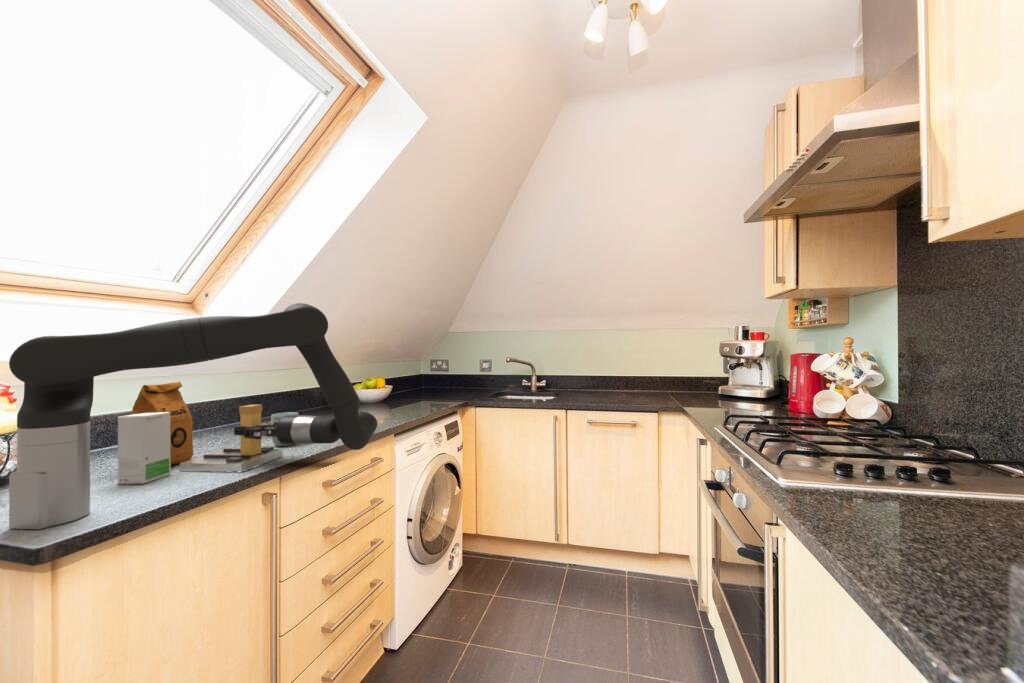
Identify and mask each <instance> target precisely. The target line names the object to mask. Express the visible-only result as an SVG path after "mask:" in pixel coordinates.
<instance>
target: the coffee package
mask: <svg viewBox="0 0 1024 683" xmlns="http://www.w3.org/2000/svg"><path fill="white" fill-rule="evenodd" d="M182 387H183V385H182V382H181V381H177V382H174V381H173V382H169V383H160V384H143V385H142V387H141V388H140V391H139V393H138V395H137V397H136V400H134V401H135V402H134V403H133V406H132V410H131V415H133V414H141V413H157V412H171V413H170V461H171V462H170V465H171V466H175V465H177V464H180V463H182V462H185V461H189V460H192V459H193V456H194V445H193V443H194V441H193V430H194V428H193V425H194V421H193V417H192V416H193V415H192V414H191V411H190V409H189V407H188V405H187V403H186V402H185V400H184V398H183V395H182V393H181V391H179V390H180V388H182Z"/></svg>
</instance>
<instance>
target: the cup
mask: <svg viewBox="0 0 1024 683" xmlns="http://www.w3.org/2000/svg"><path fill="white" fill-rule="evenodd" d="M287 415H299V412H295V411H293V412H292V411H287V412H277V413H273V414H271V415H270V421H272V422H275V421H280V419H281V418H282V417H284V416H287ZM299 416H300V415H299ZM271 440H272V443H273V444H274V445H275V446H276V447H280V446H284V447H289V445H290V446H293V445H294V444H282V443H280V442H279V440H278V439H277V437H276V436H275V438H271Z"/></svg>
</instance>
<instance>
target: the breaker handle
mask: <svg viewBox="0 0 1024 683" xmlns="http://www.w3.org/2000/svg"><path fill="white" fill-rule="evenodd" d="M238 411H239V412H238V413H239V415H240V426H241V427H248V426H256V425H258V424H261V423H262V412H263V404H248V405H247V404H246V405H240V406H239V407H238ZM260 429H261V427H260ZM261 447H262V438H261V439H251V438H244V435H240V449H241V455H254V454H257V453H260V452H261Z"/></svg>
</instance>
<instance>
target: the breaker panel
mask: <svg viewBox="0 0 1024 683" xmlns="http://www.w3.org/2000/svg"><path fill="white" fill-rule="evenodd" d="M281 456H282V457H283V449H282V448H275V447H274V446H261V452H260V453H257V454H254V455H241V448H237V447H236V448H223V449H222V450H218V451H215V452H212V453H209V454H203V455H202V456H199V457H196V458H191V460H188V461H184V462H181V463H179V472H198V471H211V472H210V473H228V472H227V471H244V470H247V469H249V468H252V467H254V466H257V465H260V464H262V465H264V464H263V463H265V464H267V463H269V461H270V462H272V461H274V460H273V459H275V460H277V459H279V458H278V457H280V458H282V457H281ZM276 458H277V459H276ZM271 460H272V461H271ZM266 462H267V463H266ZM260 466H261V465H260ZM257 467H258V466H257ZM254 468H255V467H254ZM252 469H253V468H252ZM249 470H250V469H249ZM217 471H218V472H217ZM224 471H225V472H224ZM247 471H248V470H247ZM244 472H245V471H244Z"/></svg>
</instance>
